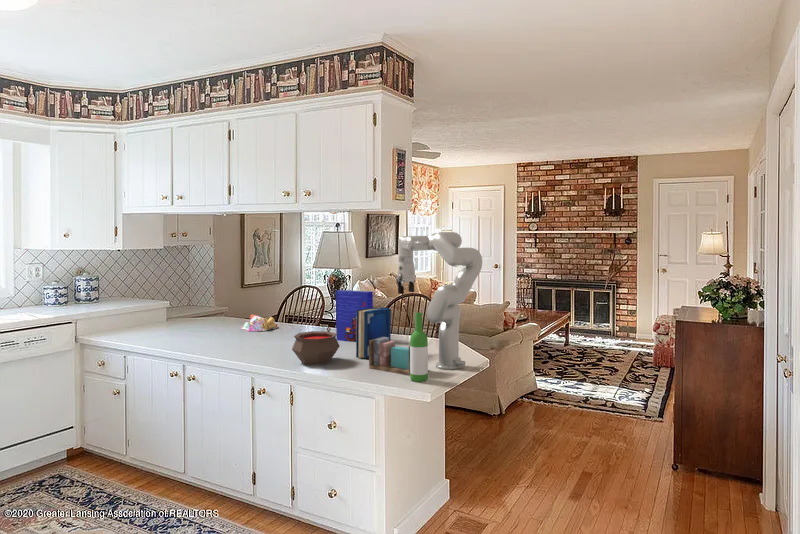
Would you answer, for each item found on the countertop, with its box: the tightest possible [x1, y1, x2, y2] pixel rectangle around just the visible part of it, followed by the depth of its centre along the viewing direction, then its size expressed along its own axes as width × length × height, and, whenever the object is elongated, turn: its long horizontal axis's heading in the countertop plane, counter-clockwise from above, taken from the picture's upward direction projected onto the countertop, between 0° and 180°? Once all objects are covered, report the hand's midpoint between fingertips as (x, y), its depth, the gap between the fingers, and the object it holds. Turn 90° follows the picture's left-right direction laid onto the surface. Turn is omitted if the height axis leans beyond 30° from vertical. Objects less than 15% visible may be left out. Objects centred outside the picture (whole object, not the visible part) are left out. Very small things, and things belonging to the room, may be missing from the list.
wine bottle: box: [409, 311, 429, 383], centre depth 248 cm, size 8×8×30 cm
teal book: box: [391, 345, 409, 369], centre depth 266 cm, size 11×4×9 cm, turn 55°
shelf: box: [368, 337, 410, 376], centre depth 268 cm, size 24×12×14 cm, turn 55°
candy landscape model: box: [240, 314, 279, 332], centre depth 380 cm, size 25×24×9 cm
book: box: [355, 307, 392, 360], centre depth 297 cm, size 22×7×25 cm, turn 141°
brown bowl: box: [291, 326, 341, 366], centre depth 284 cm, size 24×24×16 cm
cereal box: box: [335, 289, 374, 343], centre depth 336 cm, size 22×6×30 cm, turn 64°
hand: (406, 292), depth 294 cm, fingers open, 9 cm apart
